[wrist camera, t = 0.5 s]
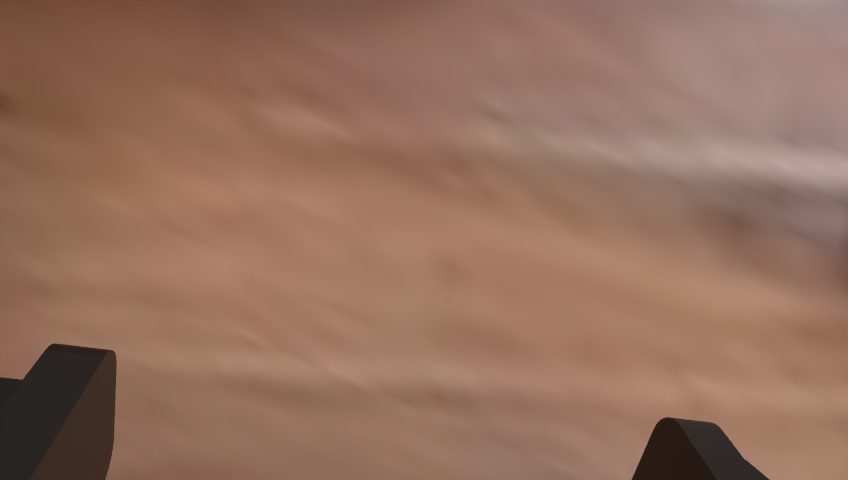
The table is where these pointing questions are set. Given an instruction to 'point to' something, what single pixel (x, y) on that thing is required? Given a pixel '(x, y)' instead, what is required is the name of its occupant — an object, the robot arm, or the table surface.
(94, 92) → the table surface
